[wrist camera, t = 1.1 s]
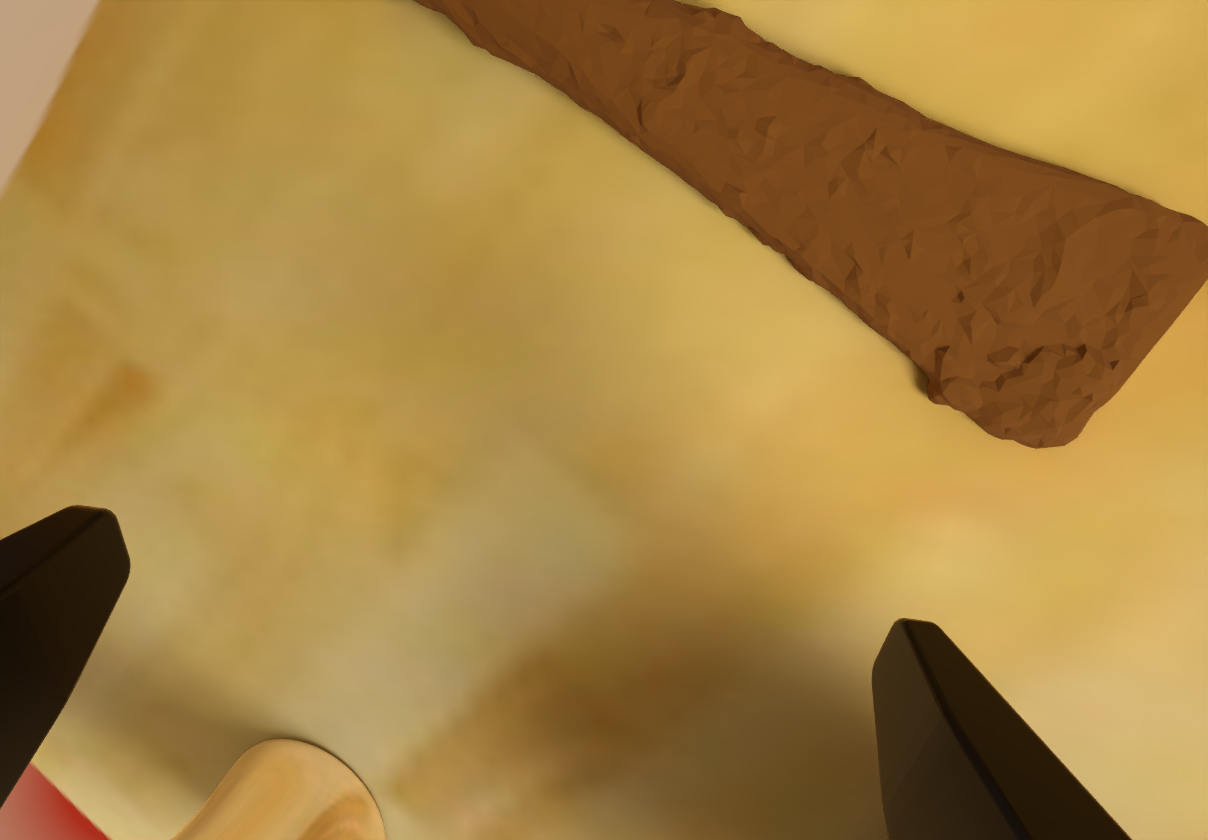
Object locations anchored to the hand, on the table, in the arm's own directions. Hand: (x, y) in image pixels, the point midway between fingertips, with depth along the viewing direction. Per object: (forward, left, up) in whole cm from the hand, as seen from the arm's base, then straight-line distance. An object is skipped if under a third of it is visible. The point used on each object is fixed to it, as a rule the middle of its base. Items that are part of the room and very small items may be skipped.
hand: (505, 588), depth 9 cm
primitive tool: (+6, -1, -11) cm, 13 cm away
